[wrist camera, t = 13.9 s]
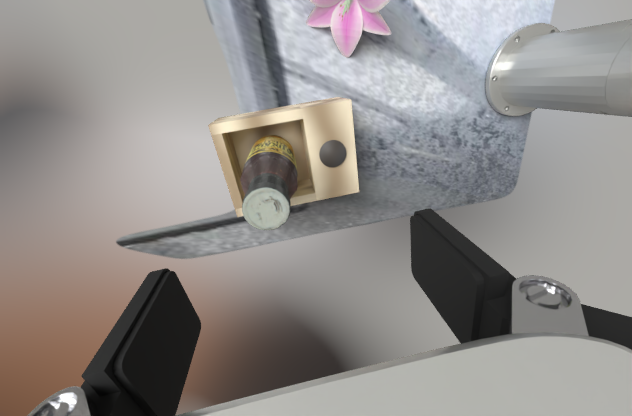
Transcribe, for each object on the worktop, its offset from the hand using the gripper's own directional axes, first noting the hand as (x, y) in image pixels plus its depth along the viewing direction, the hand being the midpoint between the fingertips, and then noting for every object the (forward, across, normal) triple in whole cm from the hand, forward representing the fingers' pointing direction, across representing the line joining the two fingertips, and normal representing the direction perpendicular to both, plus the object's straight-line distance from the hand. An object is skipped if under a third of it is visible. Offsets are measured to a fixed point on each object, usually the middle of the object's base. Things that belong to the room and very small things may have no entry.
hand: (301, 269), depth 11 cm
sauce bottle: (+32, +2, +3) cm, 32 cm away
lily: (+33, -10, -13) cm, 37 cm away
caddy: (+33, 0, +3) cm, 33 cm away
